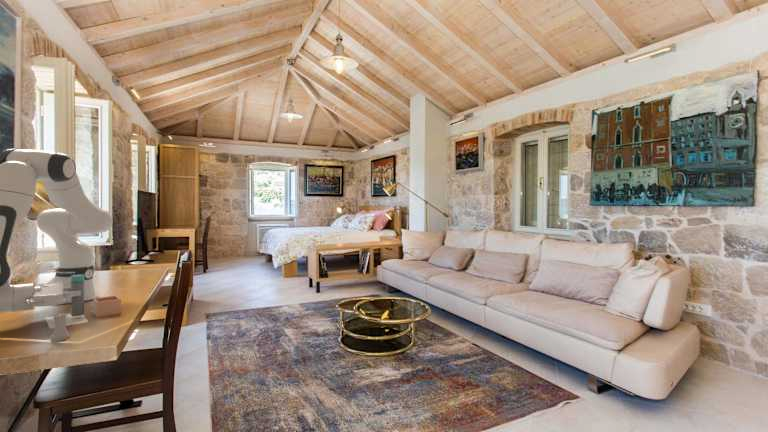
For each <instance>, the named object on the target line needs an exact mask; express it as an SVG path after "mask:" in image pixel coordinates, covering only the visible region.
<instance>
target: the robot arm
mask: <svg viewBox="0 0 768 432" xmlns="http://www.w3.org/2000/svg"><path fill="white" fill-rule="evenodd" d="M76 166H77V165H76V162H75V161H74V160H73V158H72V157H71V156H70V155H68V154H65V153H62V152H54V151H48V150H43V149H21V148H7V149H3V150H2V151H1V152H0V313H5V312H7V313H16V312H17V313H18V312H23V311H24V312H25V311H33V310H35V307H38V308H39V307H49V306H58V305H65V304H71V297H74V296H80V295H81V290H74V291H71V276H72V275H84V302H85V301H90V300H93V299H94V298H99V297H98V294H97V290H96V286H95V279H94V273H95V266H94V263H93V260H94V259H93V258H94V257H93V254H94V253H93V248H92V247H91V245H90V244H88V243H85V242H84V241H82V240H80V239H79V237H78V235H95V234H96V235H97V234H102V233H107V232H108V231H109V230H110V229H111V228H112V225H113V216H112V215H111V213H110V212H109V211H107V210H105V209H103V208H101V207H99V206H98V205H96V204H95V203H93V202H92V201H91V200H90V199H89V198H88V197H87V195H86V193H85V192H84V189H83V186H82V184H81V181H80V178H79V176H78V173H77V172H76V171H77V167H76ZM37 182H42V184H43V187H44V190H45V192H46V194H47V197H48V199H49V202H50V203H51V204H52V205H53V206H54V207H55V206H56V208H49V209H44V210H42V211H41V212H40V213H39V214H38V215H37V218H36V224H37V225H36V226H37V227H38V228H39V230H40V231H41V232H43V234H46V235H48V236H49V237H50V238H51V240H52V241H53V242H54V244H55V245H56V248H57V251H58V266H59V267H57V268H55V269H52V270H53V273H55V274H54V276H53V277H52V278H50V279H49V280H48V281H47V282H45V283H36V282H29V283H20V284H19V283H18V284H16V283H15V284H11V281H12V279H13V276H14V273H15V270H14V266H13V265H12V263H11V262H10V261H8V259H7V256H8V255H7V254H8V250H9V246H10V243H11V239H12V235H13V232H14V230H15V228H16V227H17V225H18V224H19V223H20V222H21V221H22V220H24V219H25V218H26V217H27V216H28V214H29V212H30V211H31V208H32V206H33V202H34V201H35V195H36V190H37V189H36V188H37Z"/></svg>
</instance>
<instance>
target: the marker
mask: <svg viewBox="0 0 768 432" xmlns="http://www.w3.org/2000/svg"><path fill="white" fill-rule="evenodd" d="M74 290H81V295H80V296H74V297H71V303H70V305H71V306H70V308H71V309H70V314H71V316H81V315H84V316H85V301H84V275H72V276H71V291H74Z"/></svg>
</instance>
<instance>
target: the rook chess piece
mask: <svg viewBox="0 0 768 432" xmlns="http://www.w3.org/2000/svg"><path fill="white" fill-rule="evenodd" d="M66 317H67V315H66V312H61V313H55V314H54V317H53V319H54V320H55V322H54V324H55V328H53V329H54V330H53V333H52V334H51V336H50V338H51V339H50V342H51V343H54V344H55V343H62V342H66V341H67V340H65V339H68V338H69V337H70V332H69V331H68V329H67V326H66V325H65V322H66V320H65V319H66Z"/></svg>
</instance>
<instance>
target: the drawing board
mask: <svg viewBox="0 0 768 432" xmlns="http://www.w3.org/2000/svg"><path fill="white" fill-rule="evenodd" d="M66 315H67V317H66V319H65V320H66V322H65V325H66V327H68V326H71V325H73V326H74V325H79V324H84V323H85V324H87V323H89V320H88V319H87V318H86V317H85V314H84V315H81V316H71V313H67V314H66ZM54 316H55V315H54ZM54 316H47V317H45V321H46V323H47V325H48V328H49V329H55V324H54V322H55V320H54V319H53V317H54Z"/></svg>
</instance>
